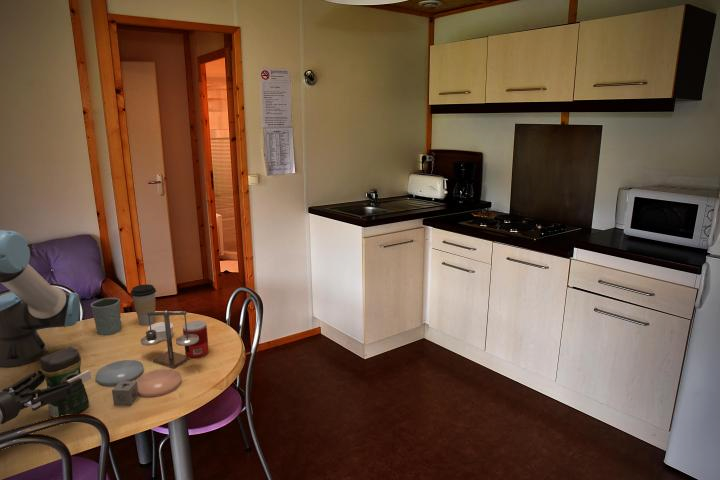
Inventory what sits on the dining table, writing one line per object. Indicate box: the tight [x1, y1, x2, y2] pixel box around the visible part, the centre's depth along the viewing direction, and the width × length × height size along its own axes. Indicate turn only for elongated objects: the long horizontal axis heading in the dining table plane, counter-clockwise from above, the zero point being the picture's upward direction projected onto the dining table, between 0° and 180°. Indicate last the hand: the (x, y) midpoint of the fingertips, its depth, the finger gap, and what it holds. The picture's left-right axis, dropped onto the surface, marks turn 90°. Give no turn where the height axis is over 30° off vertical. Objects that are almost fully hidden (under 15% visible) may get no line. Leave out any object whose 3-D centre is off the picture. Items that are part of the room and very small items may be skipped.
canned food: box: [182, 320, 210, 359], centre depth 172 cm, size 8×8×11 cm
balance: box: [140, 310, 199, 370], centre depth 166 cm, size 24×7×20 cm, turn 64°
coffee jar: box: [39, 346, 90, 418], centre depth 138 cm, size 10×8×19 cm
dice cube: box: [111, 380, 140, 407], centre depth 145 cm, size 5×5×5 cm
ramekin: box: [147, 321, 174, 342], centre depth 186 cm, size 9×9×4 cm
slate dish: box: [95, 359, 145, 387], centre depth 160 cm, size 14×14×2 cm
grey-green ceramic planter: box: [90, 297, 122, 336], centre depth 191 cm, size 10×10×12 cm
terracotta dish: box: [134, 368, 182, 398], centre depth 154 cm, size 14×14×2 cm
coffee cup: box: [130, 284, 157, 326], centre depth 198 cm, size 9×9×15 cm
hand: (78, 370), depth 142 cm, fingers open, 9 cm apart
